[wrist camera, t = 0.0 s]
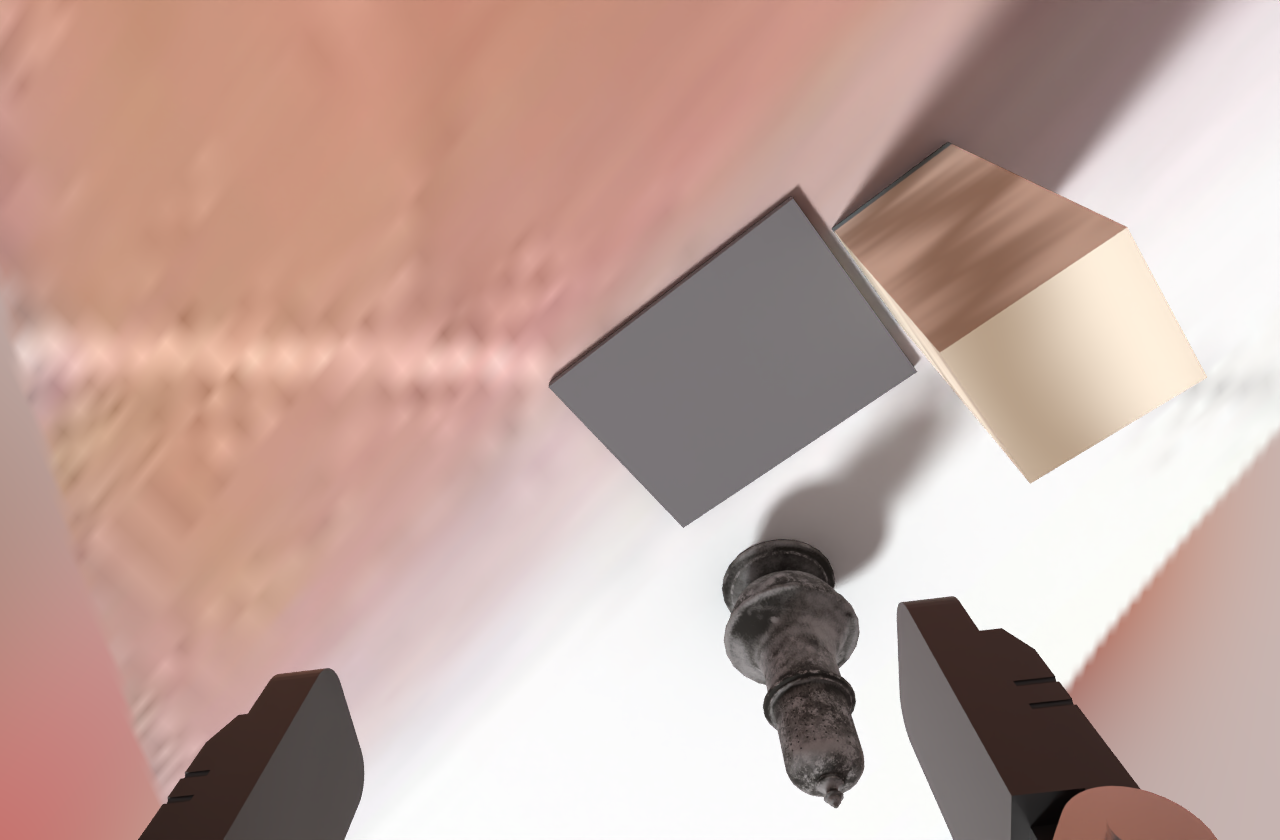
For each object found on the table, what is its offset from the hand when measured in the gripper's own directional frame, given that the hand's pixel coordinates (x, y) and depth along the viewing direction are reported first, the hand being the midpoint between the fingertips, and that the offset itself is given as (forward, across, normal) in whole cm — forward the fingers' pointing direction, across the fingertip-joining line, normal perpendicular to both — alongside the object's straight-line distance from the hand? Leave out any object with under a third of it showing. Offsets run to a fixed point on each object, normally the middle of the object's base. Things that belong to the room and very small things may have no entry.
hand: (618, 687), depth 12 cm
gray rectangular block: (+23, -4, +3) cm, 23 cm away
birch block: (+22, -12, -2) cm, 25 cm away
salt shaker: (+25, -5, +14) cm, 29 cm away
